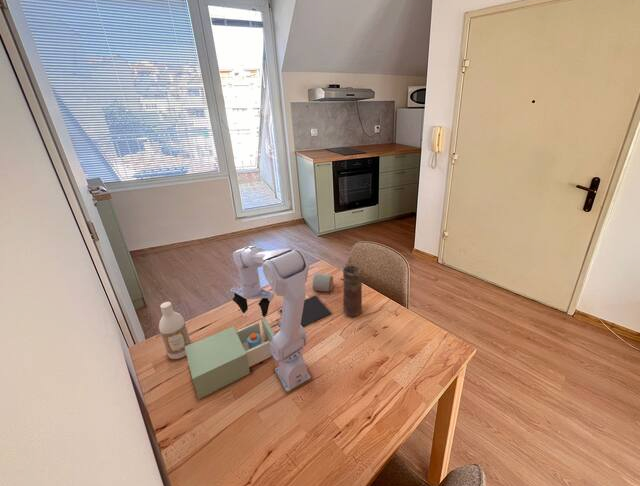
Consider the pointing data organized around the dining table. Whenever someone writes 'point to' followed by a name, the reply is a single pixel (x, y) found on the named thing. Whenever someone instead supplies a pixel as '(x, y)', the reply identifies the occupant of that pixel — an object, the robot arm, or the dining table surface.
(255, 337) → the bottle
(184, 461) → the dining table surface
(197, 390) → the green drawer cabinet
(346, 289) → the dark brown flask
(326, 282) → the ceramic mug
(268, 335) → the drawer
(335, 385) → the dining table surface
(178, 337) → the bath foam
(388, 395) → the dining table surface
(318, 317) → the mat
